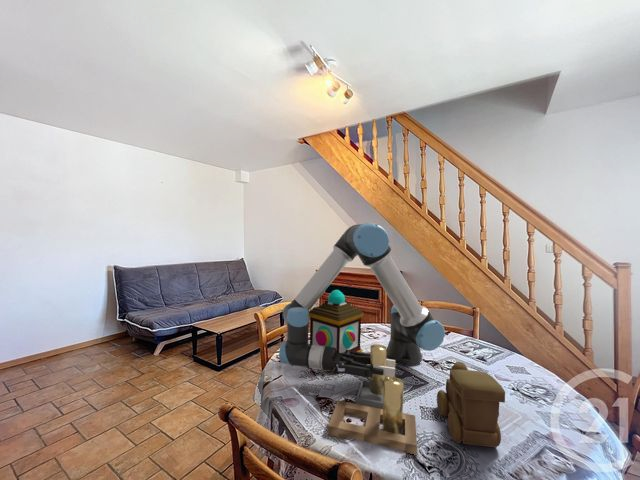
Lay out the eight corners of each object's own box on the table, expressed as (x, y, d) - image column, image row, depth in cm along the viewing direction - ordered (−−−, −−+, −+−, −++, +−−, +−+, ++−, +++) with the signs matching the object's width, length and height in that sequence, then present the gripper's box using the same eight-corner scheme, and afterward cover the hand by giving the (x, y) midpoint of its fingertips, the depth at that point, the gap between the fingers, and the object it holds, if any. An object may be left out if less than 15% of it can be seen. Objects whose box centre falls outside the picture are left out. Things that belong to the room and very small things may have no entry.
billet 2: (391, 425, 78) (393, 375, 78) (405, 436, 74) (407, 383, 74) (378, 431, 75) (380, 379, 75) (392, 443, 71) (394, 388, 71)
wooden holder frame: (327, 435, 73) (328, 425, 73) (338, 408, 85) (338, 400, 85) (416, 456, 67) (417, 445, 67) (414, 424, 79) (415, 415, 78)
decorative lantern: (331, 348, 131) (333, 284, 131) (367, 361, 118) (370, 290, 117) (300, 361, 116) (302, 289, 116) (338, 378, 103) (341, 297, 102)
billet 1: (377, 385, 94) (378, 343, 93) (388, 392, 89) (389, 348, 89) (366, 389, 91) (367, 346, 91) (377, 396, 87) (378, 351, 87)
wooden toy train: (507, 461, 66) (509, 391, 66) (456, 455, 68) (459, 386, 68) (472, 409, 86) (474, 356, 86) (433, 405, 88) (435, 352, 88)
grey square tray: (361, 386, 98) (361, 379, 98) (397, 393, 94) (397, 385, 94) (356, 406, 86) (356, 398, 86) (396, 414, 83) (396, 405, 83)
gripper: (330, 358, 104) (395, 367, 97) (315, 382, 87) (393, 395, 80) (330, 338, 104) (396, 346, 97) (316, 357, 87) (394, 369, 80)
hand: (394, 368), depth 89 cm, fingers closed on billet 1, 5 cm apart
